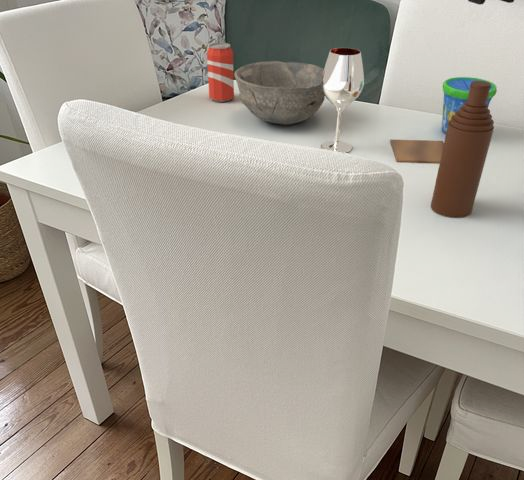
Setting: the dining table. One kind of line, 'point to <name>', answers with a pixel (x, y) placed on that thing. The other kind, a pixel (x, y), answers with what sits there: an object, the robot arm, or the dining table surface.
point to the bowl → (281, 90)
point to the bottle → (464, 154)
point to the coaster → (417, 150)
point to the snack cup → (458, 96)
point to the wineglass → (342, 87)
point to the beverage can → (220, 72)
